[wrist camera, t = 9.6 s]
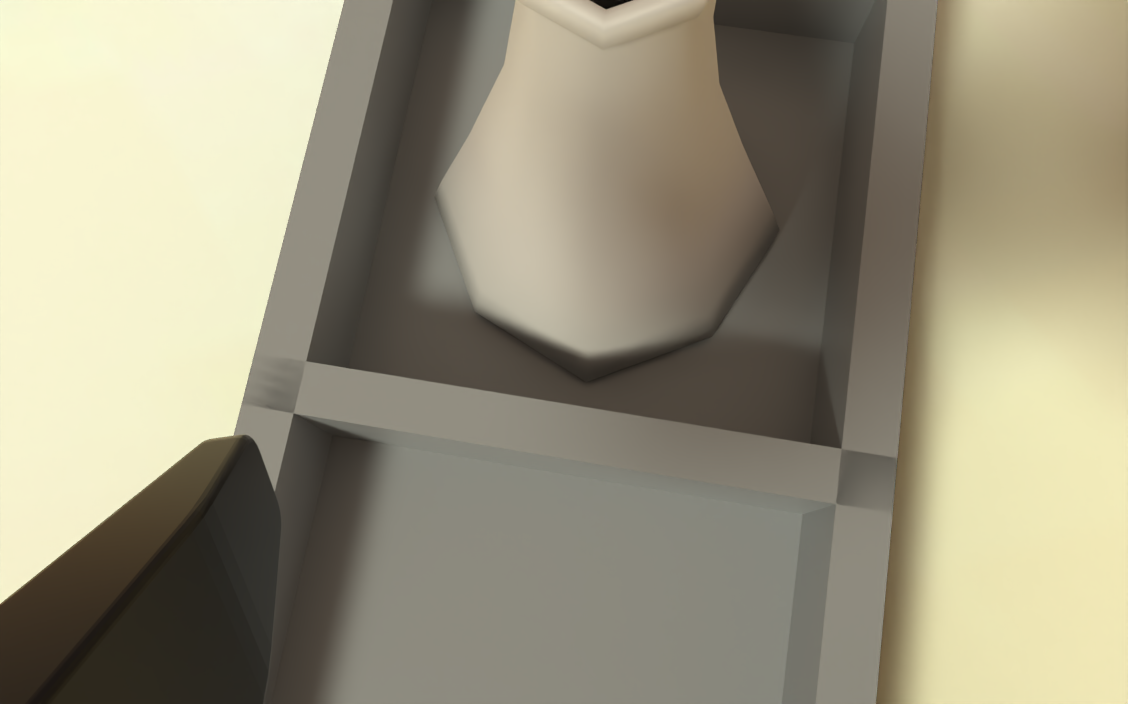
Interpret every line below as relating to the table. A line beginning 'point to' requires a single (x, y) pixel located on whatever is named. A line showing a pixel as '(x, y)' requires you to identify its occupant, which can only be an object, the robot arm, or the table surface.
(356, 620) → the grey compartment tray
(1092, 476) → the table surface
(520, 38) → the flask
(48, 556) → the table surface
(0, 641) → the robot arm
